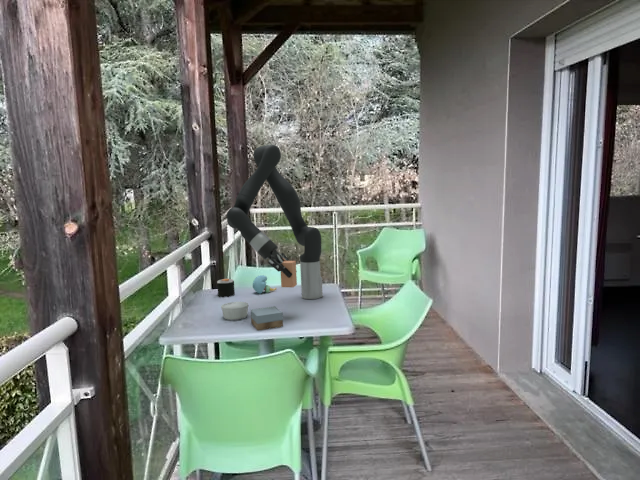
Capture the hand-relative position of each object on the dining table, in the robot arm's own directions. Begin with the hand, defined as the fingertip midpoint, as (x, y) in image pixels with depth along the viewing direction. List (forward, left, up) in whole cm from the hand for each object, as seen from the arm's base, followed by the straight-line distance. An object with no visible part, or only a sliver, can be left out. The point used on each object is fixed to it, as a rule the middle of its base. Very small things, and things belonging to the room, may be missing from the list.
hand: (292, 274), depth 203 cm
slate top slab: (+13, +7, -15) cm, 21 cm away
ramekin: (+23, -10, -17) cm, 30 cm away
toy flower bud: (+1, -48, -17) cm, 51 cm away
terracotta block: (+2, -1, -5) cm, 5 cm away
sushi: (+20, -52, -17) cm, 58 cm away
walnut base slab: (+14, +7, -18) cm, 23 cm away
